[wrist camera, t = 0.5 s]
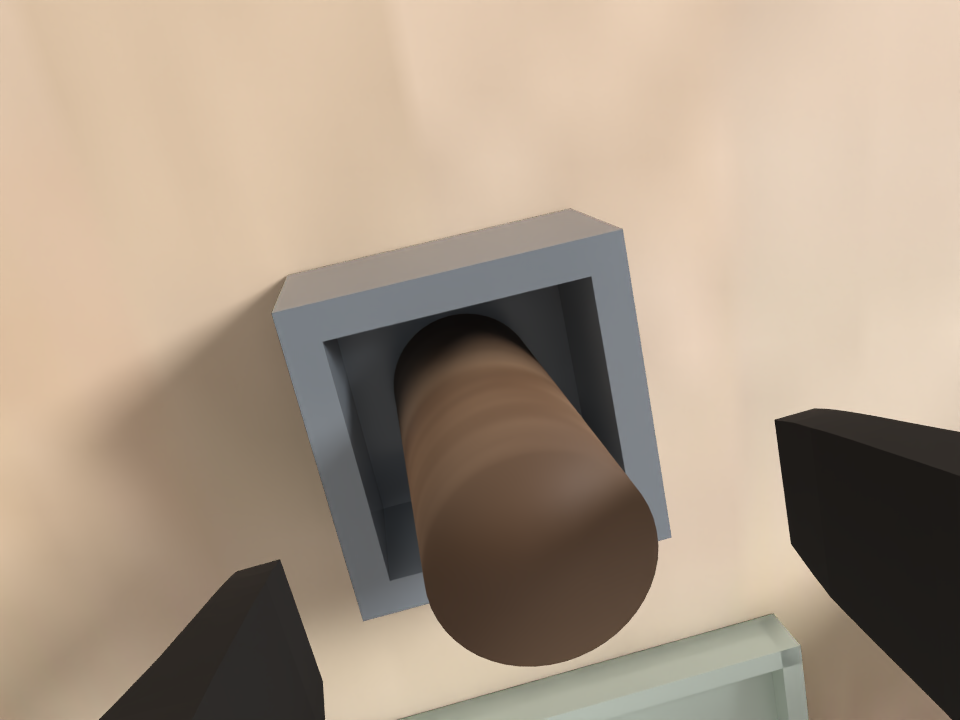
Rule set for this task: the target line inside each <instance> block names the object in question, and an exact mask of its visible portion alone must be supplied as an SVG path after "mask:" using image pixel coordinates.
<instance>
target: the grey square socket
mask: <svg viewBox="0 0 960 720" xmlns="http://www.w3.org/2000/svg"><path fill="white" fill-rule="evenodd" d="M456 314H478V315H483V316H487V317H490V318H493V319H496V320H497V321H499V322H501V323H503V324H505V325H506V326H508V327H509V328H510V329H512V330H513V331H514V332H515V333H516V334H517V335H518V336H519V337H520V339H521V340H522V341H523V342H524V344H525V345H526V346H527V348H528V349H529V350H530V351H531V353H532V354H533V355H534V357H535V358H536V359H537V360H538V362H539V363H540V364H541V366H542V367H543V368H544V369H545V371H546V372H547V373H548V375H549V376H550V377H551V378H552V380H553V381H554V382H555V384H556V385H557V386H558V387H559V389H560V390H561V391H562V393H563V394H564V395H565V396H566V398H567V399H568V400H569V402H570V403H571V404H572V405H573V407H574V408H575V409H576V411H577V412H578V413H579V414H580V416H581V417H582V418H583V420H584V421H585V422H586V423H587V425H588V426H589V427H590V429H591V430H592V431H593V432H594V434H595V435H596V436H597V438H598V439H599V440H600V441H601V443H602V444H603V445H604V447H605V448H606V449H607V450H608V452H609V453H610V454H611V456H612V457H613V458H614V459H615V461H616V462H617V463H618V465H619V466H620V467H621V468H622V470H623V471H624V472H625V474H626V475H627V476H628V477H629V479H630V480H631V481H632V483H633V484H634V485H635V486H636V488H637V489H638V490H639V492H640V493H641V494H642V496H643V497H644V499H645V501H646V502H647V504H648V506H649V508H650V511H651V513H652V515H653V518H654V521H655V526H656V530H657V537H658V541H660V540H664V539H667V538H671V531H670V525H669V518H668V512H667V506H666V499H665V493H664V487H663V480H662V474H661V468H660V461H659V455H658V449H657V443H656V436H655V430H654V424H653V417H652V411H651V405H650V398H649V392H648V386H647V379H646V373H645V367H644V360H643V354H642V348H641V342H640V335H639V329H638V323H637V316H636V310H635V304H634V297H633V291H632V285H631V278H630V272H629V266H628V260H627V253H626V247H625V241H624V234H623V229H621V228H619V227H616V226H614V225H611V224H609V223H606V222H604V221H601V220H599V219H596V218H594V217H591V216H589V215H586V214H584V213H581V212H578V211H576V210H573V209H571V208H570V209H566V210H561V211H557V212H553V213H549V214H544V215H540V216H536V217H532V218H528V219H523V220H519V221H515V222H511V223H506V224H502V225H498V226H494V227H489V228H485V229H481V230H477V231H472V232H468V233H464V234H460V235H455V236H451V237H447V238H443V239H438V240H434V241H430V242H426V243H422V244H417V245H413V246H409V247H405V248H400V249H396V250H392V251H388V252H383V253H379V254H375V255H371V256H366V257H362V258H358V259H354V260H349V261H345V262H341V263H337V264H332V265H328V266H324V267H320V268H316V269H311V270H307V271H303V272H299V273H294V274H290V275H287V277H286V279H285V282H284V284H283V287H282V289H281V291H280V294H279V296H278V299H277V301H276V303H275V306H274V308H273V311H272V317H273V320H274V323H275V327H276V330H277V333H278V337H279V340H280V344H281V347H282V350H283V354H284V357H285V360H286V364H287V367H288V370H289V374H290V377H291V380H292V384H293V387H294V391H295V394H296V397H297V401H298V404H299V407H300V411H301V414H302V417H303V421H304V424H305V427H306V431H307V434H308V438H309V441H310V444H311V448H312V451H313V454H314V458H315V461H316V464H317V468H318V471H319V474H320V478H321V481H322V485H323V488H324V491H325V495H326V498H327V501H328V505H329V508H330V511H331V515H332V518H333V521H334V525H335V528H336V532H337V535H338V538H339V542H340V545H341V548H342V552H343V555H344V558H345V562H346V565H347V568H348V572H349V575H350V579H351V582H352V585H353V589H354V592H355V595H356V599H357V602H358V605H359V609H360V612H361V615H362V619H363V621H366V620H370V619H373V618H377V617H381V616H384V615H388V614H392V613H395V612H399V611H403V610H406V609H410V608H414V607H417V606H421V605H425V604H429V600H428V598H427V595H426V589H425V584H424V578H423V572H422V566H421V559H420V553H419V547H418V540H417V534H416V528H415V521H414V515H413V509H412V502H411V496H410V490H409V483H408V477H407V471H406V464H405V458H404V452H403V445H402V439H401V433H400V426H399V420H398V414H397V407H396V401H395V395H394V374H395V369H396V365H397V362H398V360H399V357H400V355H401V353H402V351H403V349H404V348H405V346H406V345H407V344H408V342H409V341H410V340H411V339H412V338H413V336H414V335H415V334H416V333H418V332H419V331H420V330H421V329H422V328H424V327H425V326H427V325H429V324H430V323H432V322H434V321H436V320H438V319H441V318H444V317H447V316H451V315H456Z"/></svg>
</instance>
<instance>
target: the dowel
mask: <svg viewBox="0 0 960 720" xmlns="http://www.w3.org/2000/svg"><path fill="white" fill-rule="evenodd" d="M394 395H395V401H396V407H397V414H398V420H399V426H400V433H401V439H402V445H403V452H404V458H405V464H406V471H407V477H408V483H409V490H410V496H411V502H412V509H413V515H414V521H415V528H416V534H417V540H418V547H419V553H420V559H421V566H422V572H423V578H424V584H425V589H426V595H427V598H428V600H429V603H430V606H431V609H432V611H433V612H434V614H435V616H436V618H437V620H438V621H439V623H440V624H441V625H442V627H443V628H444V629H445V631H446V632H447V633H448V634H449V635H450V636H451V637H452V638H453V639H454V640H455V641H456V642H458V643H459V644H460V645H462V646H463V647H464V648H466V649H467V650H469V651H471V652H473V653H474V654H476V655H478V656H480V657H483V658H485V659H488V660H490V661H494V662H498V663H502V664H506V665H513V666H544V665H552V664H556V663H560V662H565V661H568V660H571V659H573V658H576V657H579V656H581V655H583V654H585V653H588V652H590V651H592V650H594V649H595V648H597V647H598V646H600V645H602V644H603V643H605V642H606V641H608V640H609V639H610V638H611V637H613V636H614V635H615V634H617V633H618V632H619V631H620V630H621V629H622V628H623V627H624V626H625V625H626V624H627V623H628V622H629V620H630V619H631V618H632V617H633V616H634V614H635V613H636V612H637V610H638V609H639V607H640V606H641V604H642V603H643V601H644V599H645V597H646V595H647V593H648V591H649V589H650V587H651V584H652V581H653V578H654V575H655V571H656V565H657V560H658V537H657V530H656V526H655V521H654V518H653V515H652V513H651V511H650V508H649V506H648V504H647V502H646V501H645V499H644V497H643V496H642V494H641V493H640V492H639V490H638V489H637V488H636V486H635V485H634V484H633V483H632V481H631V480H630V479H629V477H628V476H627V475H626V474H625V472H624V471H623V470H622V468H621V467H620V466H619V465H618V463H617V462H616V461H615V459H614V458H613V457H612V456H611V454H610V453H609V452H608V450H607V449H606V448H605V447H604V445H603V444H602V443H601V441H600V440H599V439H598V438H597V436H596V435H595V434H594V432H593V431H592V430H591V429H590V427H589V426H588V425H587V423H586V422H585V421H584V420H583V418H582V417H581V416H580V414H579V413H578V412H577V411H576V409H575V408H574V407H573V405H572V404H571V403H570V402H569V400H568V399H567V398H566V396H565V395H564V394H563V393H562V391H561V390H560V389H559V387H558V386H557V385H556V384H555V382H554V381H553V380H552V378H551V377H550V376H549V375H548V373H547V372H546V371H545V369H544V368H543V367H542V366H541V364H540V363H539V362H538V360H537V359H536V358H535V357H534V355H533V354H532V353H531V351H530V350H529V349H528V348H527V346H526V345H525V344H524V342H523V341H522V340H521V339H520V337H519V336H518V335H517V334H516V333H515V332H514V331H513V330H512V329H510V328H509V327H508V326H506V325H505V324H503V323H501V322H499V321H497V320H496V319H493V318H490V317H487V316H483V315H478V314H456V315H451V316H447V317H444V318H441V319H438V320H436V321H434V322H432V323H430V324H429V325H427V326H425V327H424V328H422V329H421V330H420V331H419V332H418V333H416V334H415V335H414V336H413V338H412V339H411V340H410V341H409V342H408V344H407V345H406V346H405V348H404V349H403V351H402V353H401V355H400V357H399V360H398V362H397V365H396V369H395V374H394Z"/></svg>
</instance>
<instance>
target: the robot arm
mask: <svg viewBox="0 0 960 720" xmlns="http://www.w3.org/2000/svg"><path fill="white" fill-rule="evenodd" d="M775 427H776V435H777V442H778V450H779V457H780V465H781V472H782V480H783V487H784V495H785V502H786V510H787V517H788V525H789V532H790V540H791V544H792V546H793V547H794V549H795V550H796V551H797V553H798V554H799V556H800V557H801V558H802V560H803V561H804V562H805V564H806V565H807V567H808V568H809V569H810V571H811V572H812V574H813V575H814V576H815V577H816V579H817V580H818V581H819V583H820V584H821V585H822V587H823V588H824V589H825V590H826V592H827V593H828V594H829V596H830V597H831V598H832V599H833V600H834V601H835V602H836V603H837V604H838V605H839V606H840V607H841V608H842V609H843V610H844V611H845V612H846V614H847V615H848V616H849V617H850V618H851V619H852V620H853V621H854V622H855V623H856V624H857V625H858V626H859V627H860V628H861V629H862V630H863V631H864V632H865V633H866V634H867V635H868V636H869V637H870V638H871V639H872V640H873V641H874V642H875V643H876V644H877V645H878V646H879V647H880V648H881V649H882V650H883V651H884V652H885V653H886V654H887V655H888V656H889V657H890V658H891V659H892V660H893V661H894V662H895V663H896V664H897V665H898V666H899V667H900V668H901V669H902V670H903V671H904V672H905V673H906V674H907V675H908V676H909V677H910V678H911V679H912V680H913V681H914V682H915V683H916V684H917V685H918V686H919V687H920V688H921V689H922V690H923V691H924V692H925V693H926V694H927V695H928V696H929V697H930V698H931V699H932V700H933V701H934V702H935V703H936V704H937V705H938V706H939V707H940V708H941V709H942V710H943V711H944V712H945V713H946V714H947V715H948V716H949V717H950V718H951V719H952V720H960V432H957V431H951V430H946V429H940V428H935V427H930V426H924V425H919V424H914V423H908V422H903V421H898V420H893V419H887V418H882V417H877V416H871V415H866V414H860V413H853V412H847V411H840V410H831V409H811V410H807V411H804V412H800V413H797V414H793V415H790V416H786V417H783V418H779V419H776V420H775ZM99 720H325V711H324V694H323V681H322V678H321V675H320V672H319V669H318V666H317V663H316V661H315V658H314V655H313V652H312V649H311V646H310V644H309V641H308V638H307V635H306V632H305V629H304V626H303V624H302V621H301V618H300V615H299V612H298V609H297V606H296V604H295V601H294V598H293V595H292V592H291V589H290V587H289V584H288V581H287V578H286V575H285V572H284V569H283V567H282V564H281V561H280V560H276V561H272V562H269V563H265V564H262V565H258V566H255V567H251V568H248V569H244V570H241V571H237V572H235V573H234V574H233V575H232V576H231V577H230V578H229V579H228V580H227V581H226V582H225V583H224V584H223V585H222V586H221V587H220V588H219V590H218V591H217V592H216V593H215V594H214V595H213V596H212V597H211V599H210V600H209V601H208V602H207V603H206V604H205V606H204V607H203V608H202V609H201V610H200V611H199V613H198V614H197V615H196V616H195V617H194V618H193V619H192V621H191V622H190V623H189V624H188V625H187V626H186V627H185V629H184V630H183V631H182V632H181V633H180V634H179V635H178V637H177V638H176V639H175V640H174V641H173V642H172V643H171V645H170V646H169V647H168V648H167V649H166V650H165V651H164V652H163V654H162V655H161V656H160V657H159V658H158V659H157V660H156V661H155V662H154V663H153V664H152V666H151V667H150V668H149V669H148V670H147V671H146V672H145V673H144V674H143V675H142V676H141V677H140V678H139V679H138V680H137V681H136V682H135V683H134V684H133V685H132V686H131V687H130V688H129V689H128V691H127V692H126V693H125V694H124V695H123V696H122V697H121V698H120V699H119V700H118V701H117V702H116V703H115V704H114V705H113V706H112V707H111V708H110V709H109V710H108V711H107V712H106V713H105V714H104V715H103V716H102V717H101V718H100V719H99Z"/></svg>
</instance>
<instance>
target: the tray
mask: <svg viewBox="0 0 960 720" xmlns="http://www.w3.org/2000/svg"><path fill="white" fill-rule="evenodd" d="M399 720H809V718H808V709H807V699H806V690H805V681H804V672H803V663H802V654H801V645H800V644H799V643H798V642H797V641H796V639H795V638H794V637H793V636H792V635H791V634H790V632H789V631H788V630H787V629H786V628H785V627H784V625H783V624H782V623H781V622H780V621H779V620H778V618H777V617H776V616H775V615H774V614H770V615H767V616H763V617H760V618H756V619H753V620H749V621H746V622H742V623H738V624H735V625H731V626H728V627H724V628H721V629H717V630H714V631H710V632H707V633H703V634H700V635H696V636H692V637H689V638H685V639H682V640H678V641H675V642H671V643H668V644H664V645H661V646H657V647H654V648H650V649H647V650H643V651H639V652H636V653H632V654H629V655H625V656H622V657H618V658H615V659H611V660H608V661H604V662H601V663H597V664H593V665H590V666H586V667H583V668H579V669H576V670H572V671H569V672H565V673H562V674H558V675H555V676H551V677H548V678H544V679H540V680H537V681H533V682H530V683H526V684H523V685H519V686H516V687H512V688H509V689H505V690H502V691H498V692H494V693H491V694H487V695H484V696H480V697H477V698H473V699H470V700H466V701H463V702H459V703H456V704H452V705H449V706H445V707H441V708H438V709H434V710H431V711H427V712H424V713H420V714H417V715H413V716H410V717H406V718H403V719H399Z"/></svg>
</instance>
